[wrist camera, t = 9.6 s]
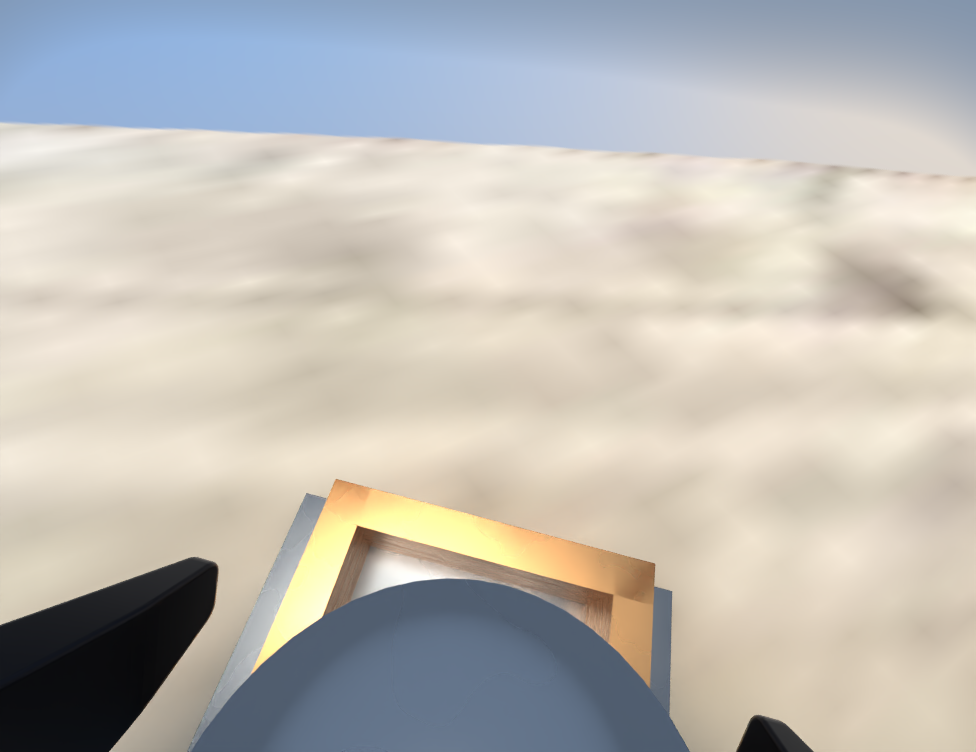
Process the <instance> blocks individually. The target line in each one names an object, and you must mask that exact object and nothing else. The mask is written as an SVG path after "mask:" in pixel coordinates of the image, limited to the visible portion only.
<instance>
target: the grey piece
mask: <svg viewBox="0 0 976 752" xmlns="http://www.w3.org/2000/svg"><path fill="white" fill-rule="evenodd" d="M191 752H690V751H689V749H688V748H687V746H686V744H685V742H684V741H683V739H682V737H681V736H680V734H679V732H678V730H677V729H676V727H675V725H674V723H673V722H672V720H671V718H670V717H669V715H668V713H667V712H666V710H665V709H664V708H663V706H662V705H661V703H660V702H659V701H658V699H657V698H656V697H655V695H654V694H653V692H652V691H651V690H650V688H649V687H648V685H647V684H646V683H645V681H644V680H643V679H642V678H641V677H640V676H639V674H638V673H637V672H636V671H635V670H634V669H633V668H632V667H631V666H630V664H629V663H628V662H627V661H626V660H625V659H624V658H623V657H622V656H621V655H620V653H619V652H618V651H616V650H615V649H614V648H613V647H612V646H611V645H610V644H609V643H607V642H606V641H605V640H604V639H603V638H602V637H601V636H599V635H598V634H597V633H596V632H595V631H594V630H593V629H591V628H590V627H588V626H587V625H585V624H584V623H583V622H581V621H580V620H578V619H577V618H575V617H574V616H572V615H571V614H569V613H568V612H566V611H565V610H563V609H561V608H559V607H557V606H555V605H553V604H551V603H549V602H547V601H545V600H543V599H542V598H540V597H538V596H535V595H533V594H530V593H527V592H524V591H521V590H518V589H515V588H512V587H509V586H506V585H501V584H496V583H491V582H486V581H481V580H472V579H453V578H444V579H432V580H421V581H414V582H410V583H405V584H401V585H396V586H392V587H388V588H384V589H382V590H379V591H376V592H374V593H371V594H368V595H366V596H363V597H360V598H357V599H355V600H353V601H351V602H349V603H347V604H345V605H343V606H341V607H339V608H338V609H336V610H334V611H332V612H330V613H328V614H326V615H324V616H323V617H321V618H320V619H318V620H317V621H315V622H314V623H312V624H311V625H309V626H308V627H306V628H305V629H304V630H302V631H301V632H299V633H298V634H296V635H295V636H293V637H292V638H291V639H290V640H288V641H287V642H286V643H285V644H284V645H283V646H282V647H280V648H279V649H278V650H277V651H276V652H275V653H273V654H272V655H271V656H270V657H269V658H268V659H266V660H265V661H264V662H263V663H262V664H261V665H260V666H259V667H258V668H257V669H256V670H255V671H254V672H253V673H252V674H251V675H250V677H249V678H248V679H247V680H246V681H245V682H244V683H243V684H242V685H241V686H240V687H239V688H238V689H237V690H236V691H235V692H234V694H233V695H232V696H231V697H230V698H229V700H228V701H227V702H226V703H225V705H224V706H223V707H222V709H221V710H220V711H219V712H218V714H217V715H216V716H215V718H214V719H213V720H212V722H211V723H210V724H209V725H208V727H207V728H206V729H205V731H204V732H203V733H202V735H201V736H200V738H199V740H198V741H197V743H196V744H195V746H194V747H193V749H192V751H191Z"/></svg>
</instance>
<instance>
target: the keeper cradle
mask: <svg viewBox="0 0 976 752" xmlns="http://www.w3.org/2000/svg"><path fill="white" fill-rule="evenodd" d="M444 578H453V579H472V580H481V581H486V582H491V583H496V584H501V585H506V586H509V587H512V588H515V589H518V590H521V591H524V592H527V593H530V594H533V595H535V596H538V597H540V598H542V599H543V600H545V601H547V602H549V603H551V604H553V605H555V606H557V607H559V608H561V609H563V610H565V611H566V612H568V613H569V614H571V615H572V616H574V617H575V618H577V619H578V620H580V621H581V622H583V623H584V624H585V625H587V626H588V627H590V628H591V629H593V630H594V631H595V632H596V633H597V634H598V635H599V636H601V637H602V638H603V639H604V640H605V641H606V642H607V643H609V644H610V645H611V646H612V647H613V648H614V649H615V650H616V651H618V652H619V653H620V655H621V656H622V657H623V658H624V659H625V660H626V661H627V662H628V663H629V664H630V666H631V667H632V668H633V669H634V670H635V671H636V672H637V673H638V674H639V676H640V677H641V678H642V679H643V680H644V681H645V683H646V684H647V685H648V687H649V688H650V690H651V691H652V692H653V694H654V695H655V697H656V698H657V699H658V701H659V702H660V703H661V705H662V706H663V708H664V709H665V710H666V712H667V713H668V715H669V706H670V660H671V615H672V591H669V590H665V589H661V588H658V587H654V578H655V564H654V563H650V562H647V561H643V560H639V559H635V558H632V557H628V556H624V555H620V554H617V553H613V552H609V551H605V550H601V549H598V548H594V547H590V546H586V545H583V544H579V543H575V542H571V541H568V540H564V539H560V538H556V537H553V536H549V535H545V534H541V533H537V532H534V531H530V530H526V529H522V528H519V527H515V526H511V525H507V524H504V523H500V522H496V521H492V520H489V519H485V518H481V517H477V516H474V515H470V514H466V513H462V512H458V511H455V510H451V509H447V508H443V507H440V506H436V505H432V504H428V503H425V502H421V501H417V500H413V499H410V498H406V497H402V496H398V495H394V494H391V493H387V492H383V491H379V490H376V489H372V488H368V487H364V486H361V485H357V484H353V483H349V482H346V481H342V480H338V479H336V480H335V482H334V484H333V487H332V489H331V491H330V494H329V496H328V498H327V499H326V498H322V497H319V496H315V495H311V494H308V493H306V495H305V498H304V500H303V502H302V504H301V506H300V508H299V511H298V513H297V515H296V517H295V519H294V521H293V524H292V526H291V528H290V530H289V532H288V534H287V537H286V539H285V541H284V543H283V545H282V547H281V550H280V552H279V554H278V556H277V558H276V560H275V563H274V565H273V567H272V569H271V571H270V573H269V576H268V578H267V580H266V582H265V584H264V586H263V589H262V591H261V593H260V595H259V597H258V599H257V602H256V604H255V606H254V608H253V610H252V612H251V615H250V617H249V619H248V621H247V623H246V625H245V628H244V630H243V632H242V634H241V636H240V638H239V641H238V643H237V645H236V647H235V649H234V651H233V654H232V656H231V658H230V660H229V662H228V664H227V667H226V669H225V671H224V673H223V675H222V677H221V680H220V682H219V684H218V686H217V688H216V690H215V693H214V695H213V697H212V699H211V701H210V703H209V706H208V708H207V710H206V712H205V714H204V716H203V719H202V721H201V723H200V725H199V727H198V729H197V732H196V734H195V736H194V738H193V740H192V742H191V745H190V747H189V749H188V751H187V752H191V751H192V749H193V747H194V746H195V744H196V743H197V741H198V740H199V738H200V736H201V735H202V733H203V732H204V731H205V729H206V728H207V727H208V725H209V724H210V723H211V722H212V720H213V719H214V718H215V716H216V715H217V714H218V712H219V711H220V710H221V709H222V707H223V706H224V705H225V703H226V702H227V701H228V700H229V698H230V697H231V696H232V695H233V694H234V692H235V691H236V690H237V689H238V688H239V687H240V686H241V685H242V684H243V683H244V682H245V681H246V680H247V679H248V678H249V677H250V675H251V674H252V673H253V672H254V671H255V670H256V669H257V668H258V667H259V666H260V665H261V664H262V663H263V662H264V661H265V660H266V659H268V658H269V657H270V656H271V655H272V654H273V653H275V652H276V651H277V650H278V649H279V648H280V647H282V646H283V645H284V644H285V643H286V642H287V641H288V640H290V639H291V638H292V637H293V636H295V635H296V634H298V633H299V632H301V631H302V630H304V629H305V628H306V627H308V626H309V625H311V624H312V623H314V622H315V621H317V620H318V619H320V618H321V617H323V616H324V615H326V614H328V613H330V612H332V611H334V610H336V609H338V608H339V607H341V606H343V605H345V604H347V603H349V602H351V601H353V600H355V599H357V598H360V597H363V596H366V595H368V594H371V593H374V592H376V591H379V590H382V589H384V588H388V587H392V586H396V585H401V584H405V583H410V582H414V581H421V580H432V579H444Z"/></svg>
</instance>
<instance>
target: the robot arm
mask: <svg viewBox="0 0 976 752" xmlns="http://www.w3.org/2000/svg"><path fill="white" fill-rule="evenodd" d="M217 581H218V565H217V564H216V563H215V562H213V561H209V560H205V559H202V558H198V557H191V558H188V559H185V560H182V561H179V562H176V563H174V564H171V565H168V566H165V567H162V568H160V569H157V570H154V571H151V572H148V573H145V574H143V575H140V576H137V577H134V578H131V579H129V580H126V581H123V582H120V583H117V584H114V585H112V586H109V587H106V588H103V589H100V590H98V591H95V592H92V593H89V594H86V595H84V596H81V597H78V598H75V599H72V600H69V601H67V602H64V603H61V604H58V605H55V606H53V607H50V608H47V609H44V610H41V611H39V612H36V613H33V614H30V615H27V616H24V617H22V618H19V619H16V620H13V621H10V622H8V623H5V624H2V625H0V752H109V751H110V750H111V749H112V747H113V746H114V745H115V744H116V743H117V742H118V740H119V739H120V738H121V737H122V736H123V734H124V733H125V732H126V731H127V730H128V728H129V727H130V726H131V725H132V724H133V722H134V721H135V720H136V719H137V717H138V716H139V715H140V714H141V712H142V711H143V710H144V708H145V707H146V706H147V704H148V703H149V702H150V700H151V699H152V698H153V696H154V695H155V694H156V692H157V691H158V689H159V688H160V686H161V685H162V684H163V682H164V681H165V679H166V678H167V677H168V675H169V674H170V672H171V671H172V670H173V668H174V667H175V665H176V664H177V663H178V661H179V660H180V658H181V657H182V656H183V654H184V653H185V651H186V650H187V649H188V647H189V646H190V644H191V643H192V642H193V640H194V639H195V637H196V636H197V635H198V633H199V632H200V630H201V629H202V627H203V626H204V625H205V623H206V622H207V620H208V619H209V617H210V615H211V614H212V611H213V609H214V606H215V600H216V591H217ZM736 752H813V751H812V750H811V749H810V748H809V747H808V746H807V745H806V744H805V743H804V742H803V741H802V740H801V739H800V738H799V737H798V736H797V735H796V734H795V733H794V732H793V731H792V730H791V729H790V728H789V727H788V726H787V725H786V724H785V723H783V722H781V721H779V720H776V719H772V718H769V717H765V716H762V715H755V716H753V717H752V718H751V720H750V721H749V724H748V726H747V728H746V730H745V732H744V735H743V737H742V739H741V741H740V744H739V746H738V748H737V750H736Z"/></svg>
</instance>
